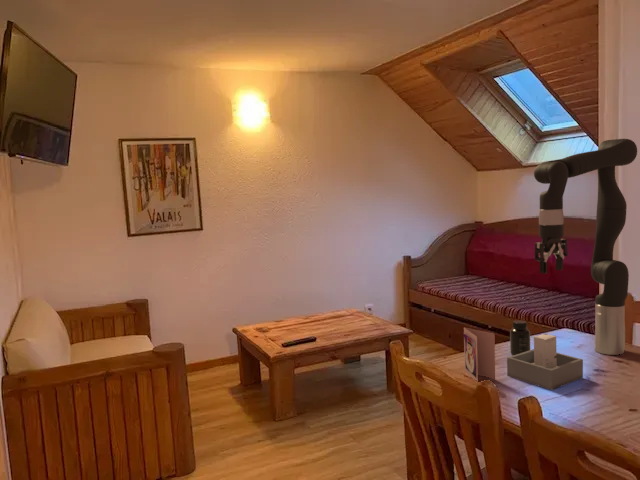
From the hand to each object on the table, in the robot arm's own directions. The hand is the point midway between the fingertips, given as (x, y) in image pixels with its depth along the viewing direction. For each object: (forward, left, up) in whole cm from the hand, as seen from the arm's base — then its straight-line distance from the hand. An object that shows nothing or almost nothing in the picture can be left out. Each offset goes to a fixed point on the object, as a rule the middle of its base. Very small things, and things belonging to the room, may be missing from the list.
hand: (551, 271), depth 179 cm
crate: (+11, +5, -32) cm, 34 cm away
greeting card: (+26, -8, -32) cm, 42 cm away
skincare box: (+11, +5, -31) cm, 33 cm away
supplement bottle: (-2, -14, -32) cm, 35 cm away
